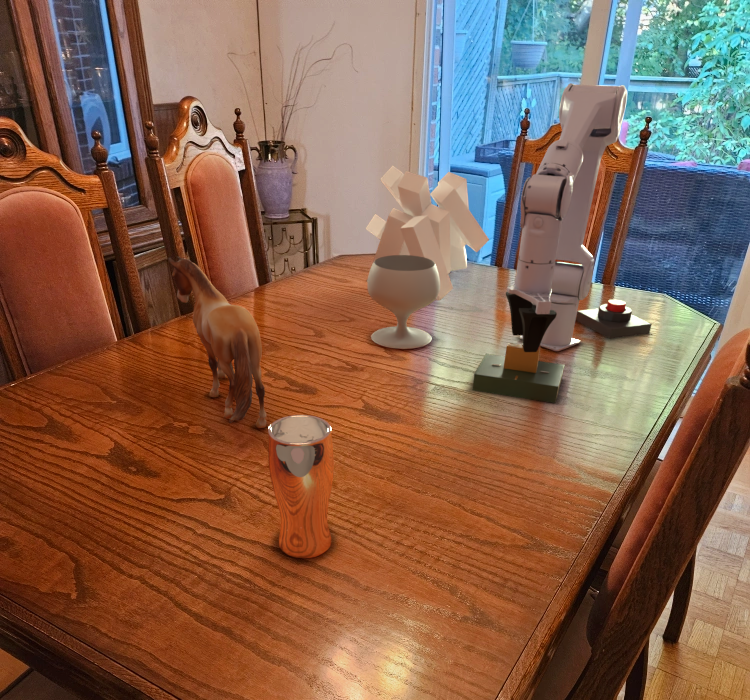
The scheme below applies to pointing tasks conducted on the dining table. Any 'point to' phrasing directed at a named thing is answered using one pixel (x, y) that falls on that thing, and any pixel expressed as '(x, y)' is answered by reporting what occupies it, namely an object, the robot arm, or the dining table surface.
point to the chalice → (403, 296)
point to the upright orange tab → (521, 358)
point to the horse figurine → (224, 340)
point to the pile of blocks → (428, 223)
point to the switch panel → (518, 379)
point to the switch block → (613, 322)
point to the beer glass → (302, 482)
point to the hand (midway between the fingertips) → (524, 342)
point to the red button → (616, 305)
